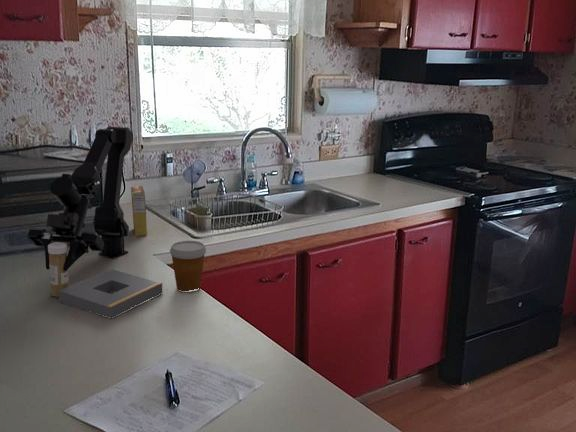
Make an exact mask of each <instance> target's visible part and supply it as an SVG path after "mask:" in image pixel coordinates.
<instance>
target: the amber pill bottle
mask: <svg viewBox="0 0 576 432" xmlns="http://www.w3.org/2000/svg"><path fill="white" fill-rule="evenodd" d="M48 253H49V282H50V296H53V297H56V298H57V297H58V298H59V295H58V290H61V289H63V288H66V287H69V269H68V270H67V271H64V270H63V268H64V264H65V261H66V258H67V255H68V243H64V242H54V243H51V244H49V245H48Z"/></svg>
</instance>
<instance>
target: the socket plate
mask: <svg viewBox="0 0 576 432" xmlns="http://www.w3.org/2000/svg"><path fill="white" fill-rule="evenodd" d="M114 291H115V292H114ZM110 292H113V293H110ZM163 292H164V291H163V282H161V281H155V280H151V279H147V278H144V277H140V276H137V275H134V274H130V273H127V272H123V271H119V270H116V269H109V270H106V271H104V272H102V273H99V274H97V275H94V276H92V277H89V278H85V279H84V280H81V281H79V282H76V283H74V284H71V285H68V287H66V288H63V289H61V290H58V295H59V297H58V302H59V303H61V304H65V305H67V306H70V307H73V306H74V308H76V307H77V308H76V309H79V308H80V310H82V309H84V310H83V311H85V310H87V311H86V312H88V311H91V312H94V313H97V314H100V315H104V316H107V317H110V318H112V317H114V316H116V315H118V314H120V313H122V312H124V311H126V310H128V309H130V308H131V307H134V306H135V305H138V304H140V303H142V302H144V301H146V300H148V299H150V298H152V297H155V296H157V295H159V294H161V293H163ZM91 312H90V313H91ZM94 313H93V314H94ZM97 314H96V315H97ZM100 315H99V316H100Z"/></svg>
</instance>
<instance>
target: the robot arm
mask: <svg viewBox="0 0 576 432" xmlns="http://www.w3.org/2000/svg"><path fill="white" fill-rule="evenodd" d="M94 136H95V137H94V140H93V141H92V144H91V146H90V148H89V150H88V152H87V154H86V157H85V158H84V161H83V162H82V164H81V165H80V166H78V167H77V168H75V169H74V170H73V171H72V174H70V173H62V174H61V176H60V177H58V178H56V179H55V180H54V181H52V183H50V186H49V190H50V193H51V194H52V195H53V197H55V199H56V200H57V202H59V203H60V205H61V206H63V210H62V212H59V213H58V214H53V213H47V216H46V223H45V227H47V228H48V227H49V228H51V229H50V230H51V231H52V232H54V233H50V232H48V231H47V229H45V228H41V227H31V228H29V229H28V230H27V234H26V236H25V237H26V238H27V239H28V240H29V241H30V242H31V243H32V244H33V245H34V246H37V247H42V248H43V247H44V254H45V255H44V257H45V259H44V260H45V269H46V270H49V271H50V269H49V253H48V245H49V244H51V243H54V242H63V243H66V244H69V250H68V251H67V258H66V261H65V264H64V268H63V270H64V271H67V270H68V271H69V269H70V268H71V267H72V265H74V264H75V263H76V261H78V260H79V259H80V258H81V257H82V256H84V254H89V249H90V250H91V251H92V252H93V251H96V252H98V255H99V256H104V257H107V258H111V259H115V258H118V257H120V256H124V255H126V254H129V251H128V250H125V237H128V236H129V232H130V226H129V224H128V223H127V222H126V220H125V219H124V217H125V214H124V211H123V209H122V207H121V205H120V201H121V190H122V180H123V171H124V163H125V157H126V155H127V154H128V153H129V152H130V151H131V149H132V143H133V141H134V132H133V131H131V130H130V128H129V127H123V126H107V127H106V128H98V129H96V131H95V134H94ZM106 160H107V161H106ZM105 161H106V168H105V176H104V177H105V178H104V187H103V197H102V202H101V204H100V205H99V206H96V207H95V209H94V217H93V220H92V221H93V222H92V224H93V228H94V231H83V232H82V233H81V231H82V229H85V226H86V224H85V219H86V215H87V212H88V210H90V209H92V204H91V202H90V199H89V198H87V196H96V195H97V194H98V192H99V191H100V188H101V183H102V180H101V177H100V176H101V175H100V174H101V170H102V169H103V166H104V164H105ZM80 235H81V236H80Z"/></svg>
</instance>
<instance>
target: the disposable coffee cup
mask: <svg viewBox="0 0 576 432" xmlns="http://www.w3.org/2000/svg"><path fill="white" fill-rule="evenodd" d="M206 252H207V248H206V247H205V244H204V243H203V242H201V241H197V240H182V241H181V240H180V241H177V242H173V244H172V245H171V246H170V249H169V253H170V256H171V259H172V267H173V272H174V279H175V286H176V290H177V289H178V290H181V291H189V290H194V289H198V288H199V290H200V289H202V288H201V285H202V277H203V270H204V263H205V262H204V261H205V254H206ZM178 290H177V291H178ZM181 291H180V292H181Z"/></svg>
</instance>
